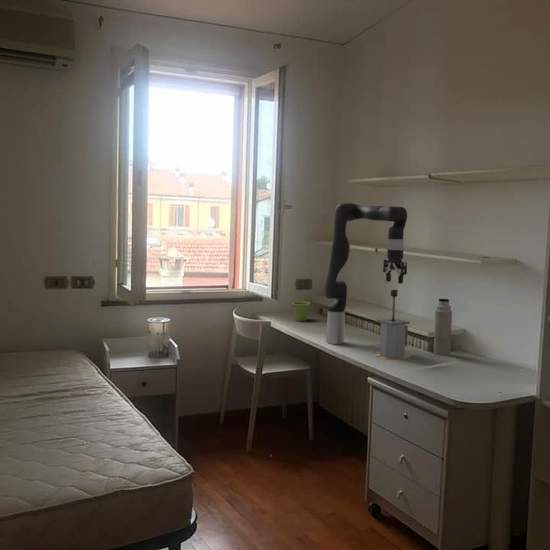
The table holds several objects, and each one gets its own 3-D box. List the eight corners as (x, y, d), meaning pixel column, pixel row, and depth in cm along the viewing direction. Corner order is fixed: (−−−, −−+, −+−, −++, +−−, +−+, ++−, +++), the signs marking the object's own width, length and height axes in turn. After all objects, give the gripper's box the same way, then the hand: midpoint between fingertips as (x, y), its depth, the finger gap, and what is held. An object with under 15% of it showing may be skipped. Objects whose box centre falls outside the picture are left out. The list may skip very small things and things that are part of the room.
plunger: (380, 329, 300) (381, 289, 298) (393, 327, 304) (395, 288, 302) (392, 332, 293) (393, 291, 291) (405, 330, 297) (406, 290, 295)
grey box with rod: (375, 354, 302) (376, 319, 300) (398, 351, 309) (399, 317, 307) (390, 359, 292) (392, 323, 290) (413, 355, 299) (415, 321, 297)
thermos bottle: (449, 353, 309) (451, 298, 306) (450, 357, 301) (453, 300, 298) (433, 352, 310) (435, 297, 307) (434, 356, 302) (436, 299, 299)
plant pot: (292, 318, 404) (292, 301, 403) (310, 319, 402) (310, 301, 401) (290, 321, 392) (290, 304, 391) (309, 322, 391) (309, 304, 389)
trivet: (365, 355, 303) (365, 353, 303) (394, 351, 312) (394, 349, 312) (390, 363, 288) (390, 361, 288) (419, 359, 297) (419, 357, 296)
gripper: (379, 248, 299) (378, 281, 300) (399, 249, 286) (398, 284, 288) (391, 247, 302) (390, 280, 304) (411, 249, 290) (410, 283, 292)
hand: (394, 282), depth 296 cm, fingers open, 8 cm apart
